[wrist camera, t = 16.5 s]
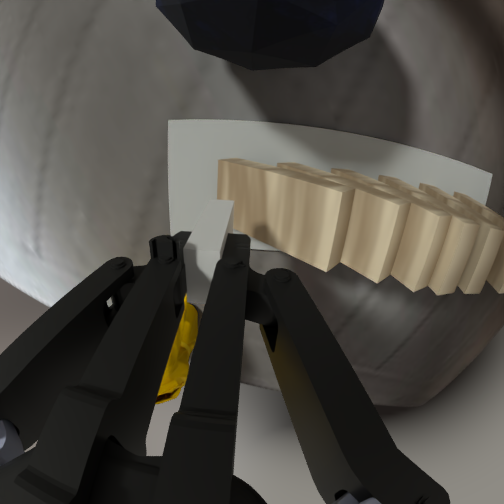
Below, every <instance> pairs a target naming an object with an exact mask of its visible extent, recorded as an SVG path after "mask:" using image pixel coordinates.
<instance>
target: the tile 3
mask: <svg viewBox="0 0 504 504" xmlns="http://www.w3.org/2000/svg"><path fill="white" fill-rule="evenodd" d="M331 173H332V174H335V175H338V176H341V177H344V178H347V179H350V180H353V181H356V182H359V183H362V184H365V185H368V186H370V187H373V188H376V189H379V190H381V191H384V192H387V193H389V194H392V195H394V196H397V197H399V198H402V199H404V200H407V201H409V202H411V206H410V210H409V214H408V218H407V222H406V226H405V229H404V233H403V236H402V240H401V243H400V246H399V250H398V253H397V256H396V259H395V262H394V266H393V269H392V271H391V274H390V275H392V276H393V277H394V278H396V279H397V280H398V281H400V282H401V283H402V284H403V285H405V286H406V287H407V288H409V289H410V290H411V291H412V292H415V291H417V290H420V289H422V288H424V287H426V286H428V284H429V282H430V280H431V277H432V275H433V272H434V269H435V267H436V264H437V262H438V259H439V256H440V253H441V250H442V247H443V245H444V242H445V239H446V235H447V232H448V229H449V226H450V222H451V219H452V216H453V215H451V214H449V213H447V212H445V211H443V210H441V209H439V208H437V207H435V206H433V205H431V204H429V203H427V202H425V201H423V200H421V199H418V198H416V197H414V196H412V195H410V194H408V193H405V192H403V191H401V190H399V189H396V188H394V187H392V186H389V185H387V184H385V183H382V182H380V181H377V180H375V179H373V178H370V177H368V176H365V175H362V174H360V173H357V172H355V171H352V170H349V169H338V168H331Z"/></svg>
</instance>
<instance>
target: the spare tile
mask: <svg viewBox="0 0 504 504" xmlns="http://www.w3.org/2000/svg"><path fill="white" fill-rule="evenodd" d="M453 197H454V198H456V199H458V200H459V201H461V202H463V203H464V204H466V205H467V206H469V207H471V208H472V209H474V210H475V211H477V212H478V213H480V214H481V215H483V216H484V217H486V218H487V219H489V220H490V221H491V222H493V223H494V224H496V225H497V226H499V227H500V228H501V229H503V230H504V218H503V217H502V216H500V215H498V214H497V213H495V212H494V211H492V210H491V209H489V208H488V207H486V206H484V205H483V204H481V203H479V202H478V201H476V200H474V199H473V198H471V197H469V196H468V195H466V194H462V193H458V192H455V191H454V194H453ZM486 280H487V281H488V282H489V283H490V284H491V286H492V287H493V288H494V289H495V290H496V291H497V292H498V293H504V236H503V239H502V241H501V244H500V247H499V250H498V252H497V255H496V258H495V260H494V263H493V265H492V267H491V270H490V272H489V274H488V277H487V279H486Z"/></svg>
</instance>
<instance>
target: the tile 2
mask: <svg viewBox="0 0 504 504" xmlns="http://www.w3.org/2000/svg"><path fill="white" fill-rule="evenodd" d="M277 167H280V168H284V169H288V170H292V171H296V172H300V173H304V174H308V175H311V176H315V177H319V178H322V179H326V180H329V181H333V182H336V183H339V184H343V185H346V186H349V187H353V188H356V189H355V195H354V200H353V205H352V210H351V215H350V220H349V225H348V230H347V235H346V239H345V244H344V248H343V252H342V256H341V261H340V262H341V263H343V264H345V265H346V266H348V267H350V268H352V269H353V270H355V271H357V272H358V273H360V274H362V275H363V276H365V277H367V278H369V279H370V280H372V281H374V282H375V283H379V282H380V281H382V280H383V279H385V278H386V277H388V276H389V275H390V274H391V271H392V269H393V266H394V262H395V259H396V256H397V253H398V250H399V246H400V243H401V240H402V236H403V233H404V229H405V226H406V222H407V218H408V214H409V210H410V206H411V202H409V201H407V200H404V199H402V198H399V197H397V196H394V195H392V194H389V193H387V192H384V191H381V190H379V189H376V188H373V187H370V186H368V185H365V184H362V183H359V182H356V181H353V180H350V179H347V178H344V177H341V176H338V175H335V174H332V173H329V172H326V171H323V170H319V169H316V168H313V167H309V166H306V165H303V164H299V163H296V162H286V163H277Z"/></svg>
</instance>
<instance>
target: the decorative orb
mask: <svg viewBox="0 0 504 504" xmlns="http://www.w3.org/2000/svg"><path fill="white" fill-rule="evenodd" d="M383 4H384V0H156V7H157V8H158V9H159V10H160V11H161V12H162V13H163V14H164V16H165V17H166V18H167V19H168V20H169V21H170V22H171V23H172V24H173V26H174V27H175V28H176V29H177V30H178V31H179V32H180V34H181V35H182V36H183V37H184V38H185V39H186V40H187V42H188V43H189V44H190V45H191V46H192V48H193V49H195V50H198V51H201V52H204V53H207V54H210V55H213V56H216V57H219V58H222V59H224V60H227V61H230V62H232V63H235V64H237V65H240V66H242V67H245V68H247V69H250V70H252V71H254V70H264V69H276V68H294V67H316V66H318V65H319V64H321V63H323V62H325V61H326V60H328V59H330V58H332V57H333V56H335V55H337V54H339V53H340V52H342V51H344V50H346V49H348V48H350V47H352V46H353V45H355V44H357V43H359V42H361V41H363V40H365V39H367V38H369V37H370V35H371V33H372V31H373V28H374V26H375V24H376V21H377V19H378V17H379V14H380V12H381V10H382V7H383Z"/></svg>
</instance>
